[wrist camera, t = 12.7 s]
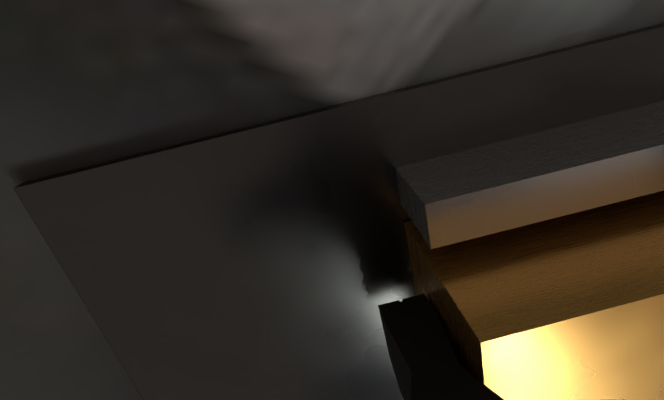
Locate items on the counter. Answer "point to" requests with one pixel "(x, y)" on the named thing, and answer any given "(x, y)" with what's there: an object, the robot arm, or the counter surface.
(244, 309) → the grey piece
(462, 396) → the robot arm
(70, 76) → the counter surface
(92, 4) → the counter surface
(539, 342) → the wooden drawer block
